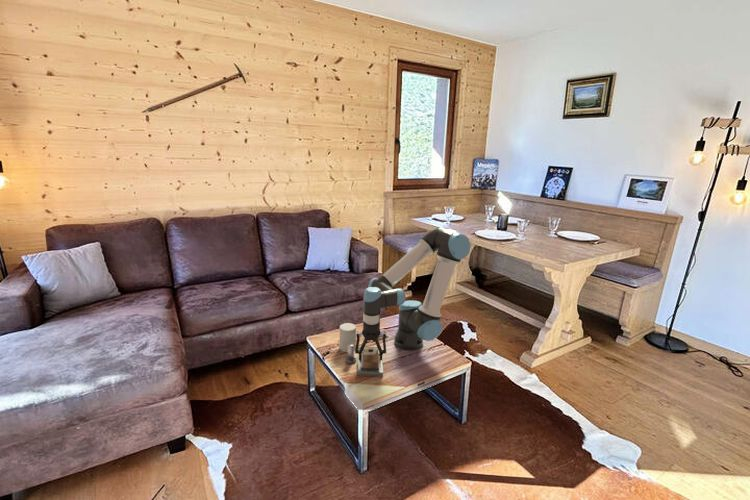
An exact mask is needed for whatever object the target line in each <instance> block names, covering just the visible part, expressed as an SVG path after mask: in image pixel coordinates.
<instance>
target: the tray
mask: <svg viewBox="0 0 750 500" xmlns="http://www.w3.org/2000/svg"><path fill="white" fill-rule="evenodd" d="M357 361H358V362H357V363H358V364H357V376H358V377H383V376H384V368H383V367H384V366H383V359H382V360H380V368H361V360H359V358H357Z"/></svg>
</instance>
